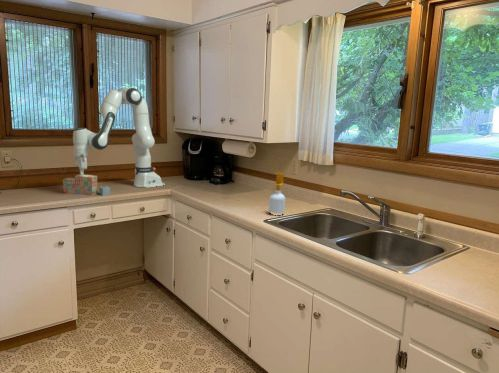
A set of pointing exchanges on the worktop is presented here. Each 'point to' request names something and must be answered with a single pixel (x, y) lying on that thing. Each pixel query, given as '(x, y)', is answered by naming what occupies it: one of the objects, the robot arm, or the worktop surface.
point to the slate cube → (104, 190)
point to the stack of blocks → (81, 185)
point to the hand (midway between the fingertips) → (81, 174)
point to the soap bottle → (277, 196)
